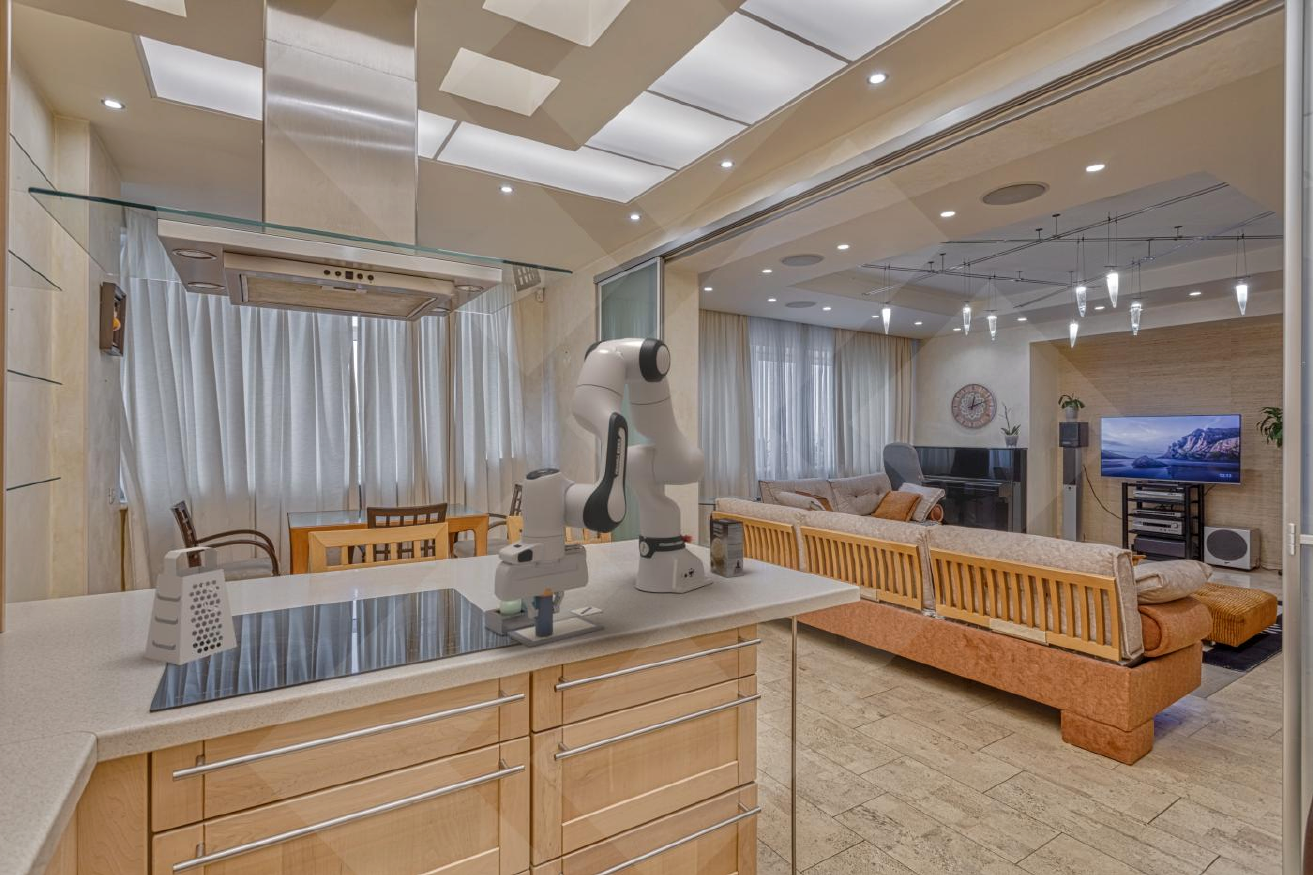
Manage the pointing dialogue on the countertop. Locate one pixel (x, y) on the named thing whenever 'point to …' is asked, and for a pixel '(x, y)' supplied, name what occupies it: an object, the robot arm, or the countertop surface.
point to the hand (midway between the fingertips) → (543, 615)
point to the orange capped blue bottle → (544, 613)
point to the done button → (510, 607)
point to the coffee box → (726, 547)
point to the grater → (189, 611)
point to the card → (586, 611)
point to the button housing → (507, 621)
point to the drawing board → (555, 631)
